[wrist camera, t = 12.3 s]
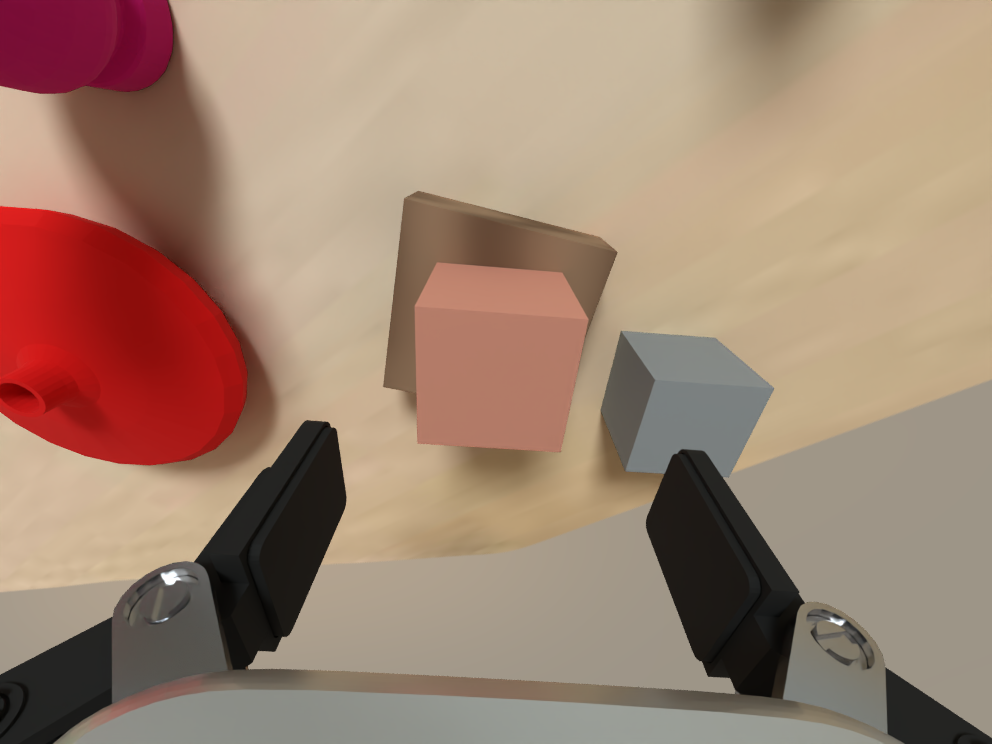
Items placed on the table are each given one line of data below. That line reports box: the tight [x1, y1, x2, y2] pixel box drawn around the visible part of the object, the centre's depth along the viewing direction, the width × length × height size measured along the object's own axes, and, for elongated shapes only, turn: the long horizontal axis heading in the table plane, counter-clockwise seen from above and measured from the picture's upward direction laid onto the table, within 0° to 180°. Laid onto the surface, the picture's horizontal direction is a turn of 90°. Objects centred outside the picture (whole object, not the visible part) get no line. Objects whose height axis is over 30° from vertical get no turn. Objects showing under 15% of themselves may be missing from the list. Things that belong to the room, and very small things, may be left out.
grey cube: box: [601, 331, 774, 477], centre depth 23 cm, size 6×6×6 cm
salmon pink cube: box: [415, 262, 589, 452], centre depth 18 cm, size 6×6×6 cm
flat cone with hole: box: [0, 206, 247, 465], centre depth 21 cm, size 16×16×7 cm
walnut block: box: [383, 191, 618, 393], centre depth 22 cm, size 10×10×4 cm
